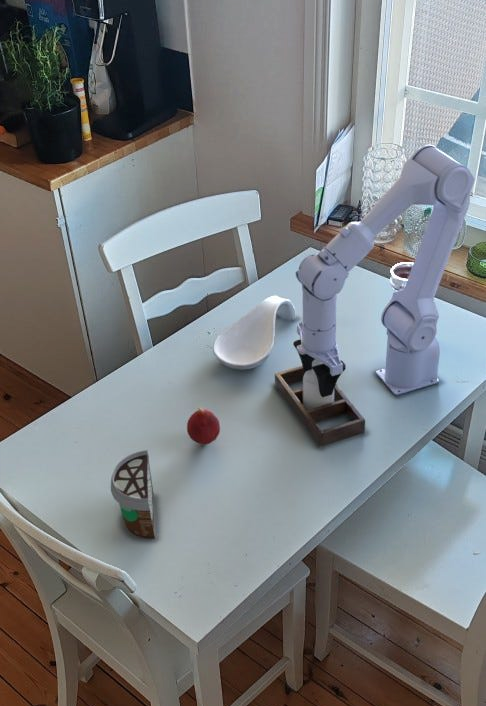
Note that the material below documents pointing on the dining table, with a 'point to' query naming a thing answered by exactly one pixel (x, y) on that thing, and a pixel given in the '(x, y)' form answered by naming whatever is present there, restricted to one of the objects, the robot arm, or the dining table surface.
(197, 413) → the onion
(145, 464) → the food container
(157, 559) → the dining table surface
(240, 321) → the spoon rest
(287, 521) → the dining table surface
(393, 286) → the white round hollow piece
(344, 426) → the spice rack
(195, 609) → the dining table surface
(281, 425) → the dining table surface
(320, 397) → the eye dropper bottle
